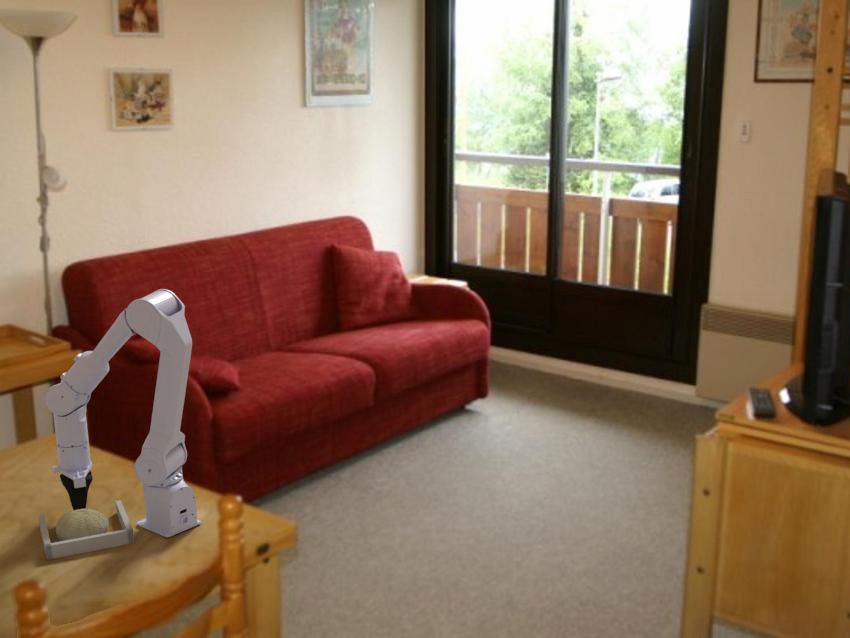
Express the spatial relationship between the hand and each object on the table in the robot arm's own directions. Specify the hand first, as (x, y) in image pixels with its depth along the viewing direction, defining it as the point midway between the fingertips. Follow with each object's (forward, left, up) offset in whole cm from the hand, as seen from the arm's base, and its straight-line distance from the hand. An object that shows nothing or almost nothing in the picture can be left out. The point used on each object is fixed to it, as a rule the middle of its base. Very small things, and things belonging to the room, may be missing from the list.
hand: (79, 509), depth 201 cm
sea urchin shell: (-8, +5, -2) cm, 9 cm away
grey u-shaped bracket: (-8, +4, -1) cm, 9 cm away
